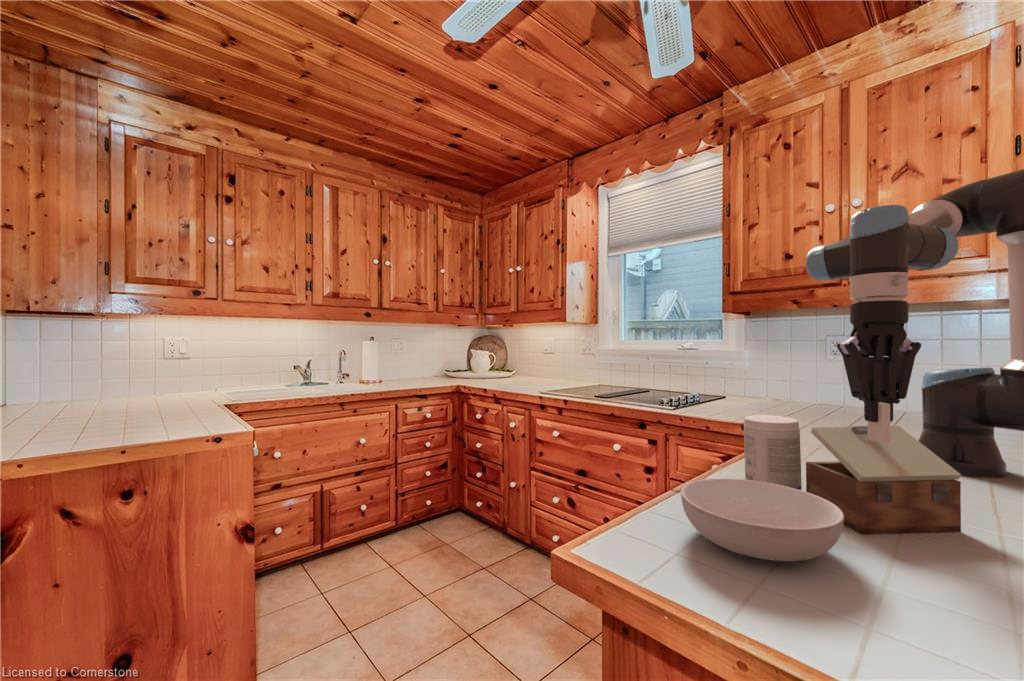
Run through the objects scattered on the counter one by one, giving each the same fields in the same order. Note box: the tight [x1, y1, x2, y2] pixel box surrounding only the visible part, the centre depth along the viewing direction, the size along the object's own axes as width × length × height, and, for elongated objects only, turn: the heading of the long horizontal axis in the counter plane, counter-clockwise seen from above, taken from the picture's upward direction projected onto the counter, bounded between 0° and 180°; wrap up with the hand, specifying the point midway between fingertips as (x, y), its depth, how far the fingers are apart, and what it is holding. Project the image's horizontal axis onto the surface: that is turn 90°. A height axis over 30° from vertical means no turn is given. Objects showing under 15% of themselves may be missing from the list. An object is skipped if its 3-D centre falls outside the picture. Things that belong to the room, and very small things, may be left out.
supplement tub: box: [743, 414, 803, 491], centre depth 86 cm, size 10×10×15 cm
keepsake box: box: [805, 460, 962, 536], centre depth 73 cm, size 16×12×8 cm
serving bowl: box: [680, 477, 844, 562], centre depth 65 cm, size 21×21×7 cm
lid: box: [810, 425, 962, 482], centre depth 73 cm, size 16×12×2 cm
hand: (878, 441), depth 73 cm, fingers closed
